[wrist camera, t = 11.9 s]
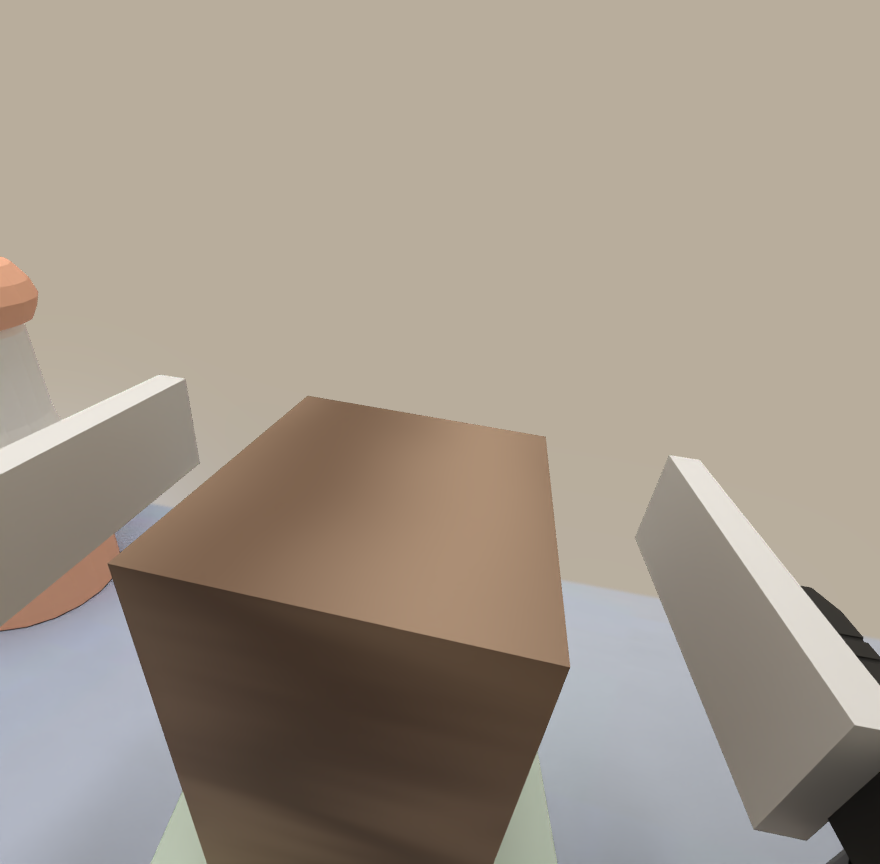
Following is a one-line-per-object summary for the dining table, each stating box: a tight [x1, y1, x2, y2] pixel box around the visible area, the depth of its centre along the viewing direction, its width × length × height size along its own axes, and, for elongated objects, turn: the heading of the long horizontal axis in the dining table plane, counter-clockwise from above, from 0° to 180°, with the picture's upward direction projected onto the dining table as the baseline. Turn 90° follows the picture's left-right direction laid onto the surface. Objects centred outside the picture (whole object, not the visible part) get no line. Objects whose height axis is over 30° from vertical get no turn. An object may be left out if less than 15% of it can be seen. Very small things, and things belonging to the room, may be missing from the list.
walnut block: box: [107, 396, 570, 864], centre depth 10 cm, size 6×6×10 cm
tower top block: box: [151, 752, 557, 864], centre depth 14 cm, size 10×10×4 cm
